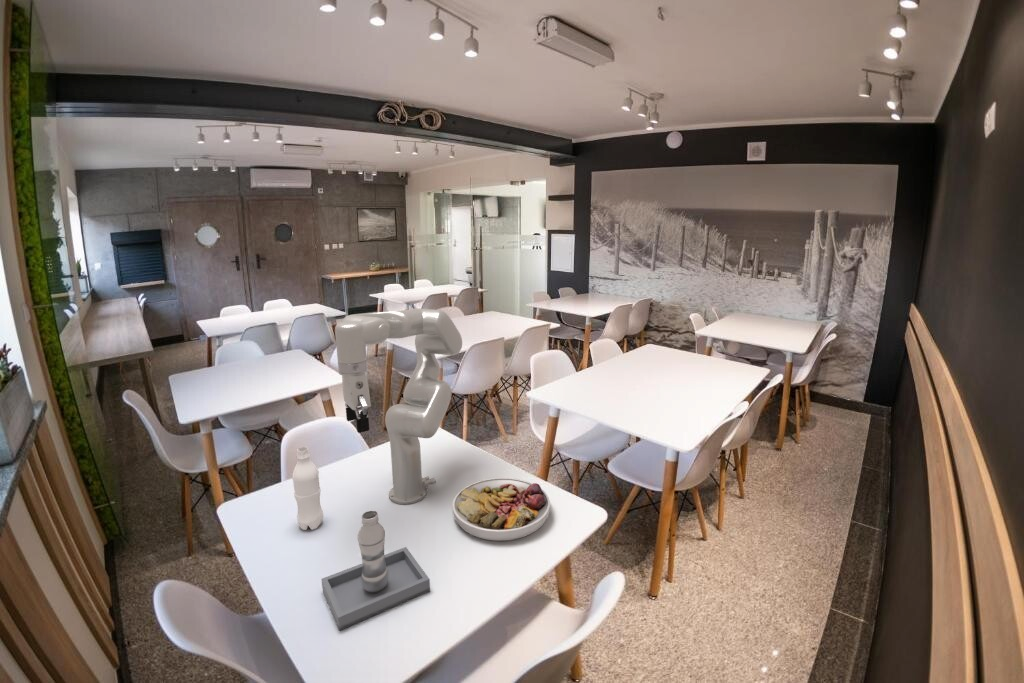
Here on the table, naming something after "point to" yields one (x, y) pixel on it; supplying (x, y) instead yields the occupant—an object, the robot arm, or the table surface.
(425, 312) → the robot arm
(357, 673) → the table surface
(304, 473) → the water bottle
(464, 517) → the bowl
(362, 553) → the plastic bottle
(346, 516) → the table surface
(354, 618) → the tray
